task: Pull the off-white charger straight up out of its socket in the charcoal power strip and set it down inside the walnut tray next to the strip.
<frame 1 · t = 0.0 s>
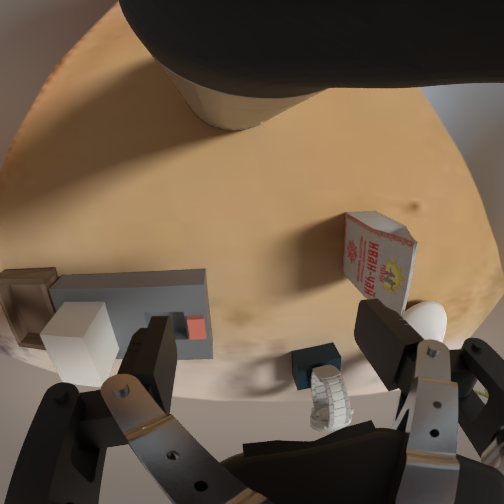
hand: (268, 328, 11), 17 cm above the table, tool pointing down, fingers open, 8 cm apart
power strip: (134, 309, 30), on the table
tea box: (358, 241, 30), on the table
watch: (312, 358, 35), on the table
flower in vase: (413, 328, 36), on the table
tray: (39, 304, 28), on the table
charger: (97, 316, 28), point 1 cm above the table, touching power strip
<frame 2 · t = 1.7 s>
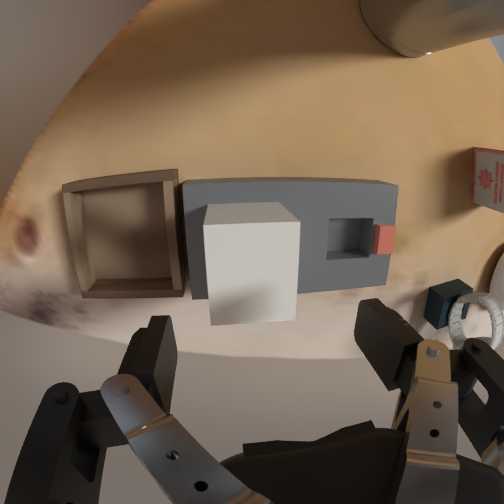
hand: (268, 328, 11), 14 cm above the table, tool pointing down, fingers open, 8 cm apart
power strip: (289, 228, 25), on the table
tea box: (480, 175, 25), on the table
watch: (440, 297, 30), on the table
tray: (129, 230, 23), on the table
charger: (242, 235, 23), point 1 cm above the table, touching power strip
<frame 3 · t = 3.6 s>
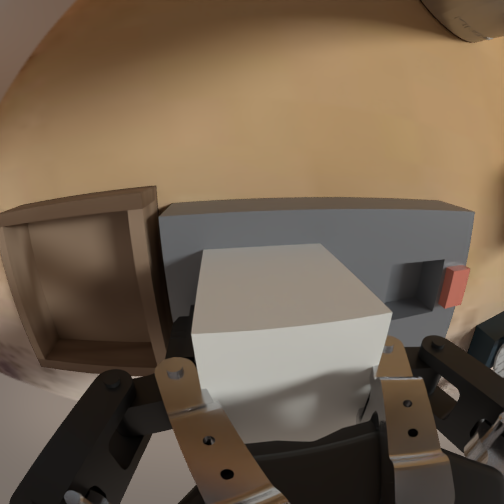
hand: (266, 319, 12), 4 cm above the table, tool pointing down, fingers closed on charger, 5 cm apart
power strip: (325, 272, 17), on the table
watch: (484, 334, 22), on the table
tray: (93, 277, 15), on the table
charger: (258, 289, 15), point 2 cm above the table, touching gripper, power strip
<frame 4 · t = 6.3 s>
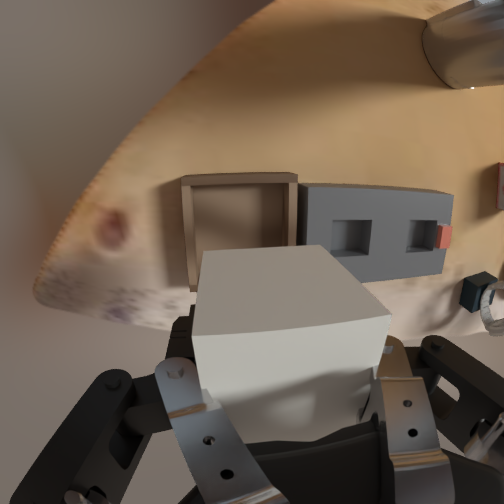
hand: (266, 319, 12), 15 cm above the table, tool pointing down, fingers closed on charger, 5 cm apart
power strip: (372, 227, 28), on the table
tea box: (502, 185, 29), on the table
watch: (471, 287, 33), on the table
tray: (238, 226, 27), on the table
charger: (258, 290, 15), point 13 cm above the table, touching gripper
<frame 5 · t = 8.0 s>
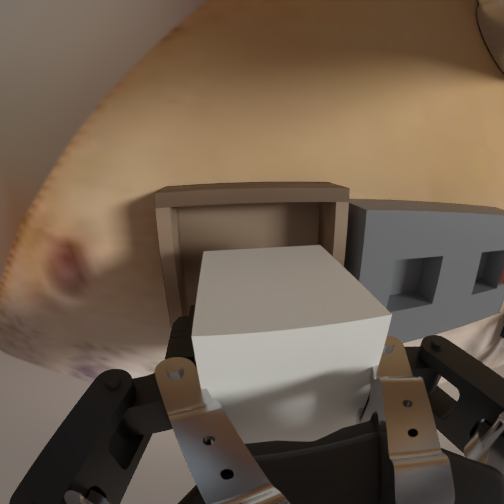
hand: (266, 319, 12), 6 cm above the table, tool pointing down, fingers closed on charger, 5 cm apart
power strip: (430, 259, 19), on the table
tray: (250, 265, 17), on the table
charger: (258, 290, 15), point 3 cm above the table, touching gripper
when the fingers open (4 cm above the table, at t = 9.2 s): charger stays where it is, resting on tray.
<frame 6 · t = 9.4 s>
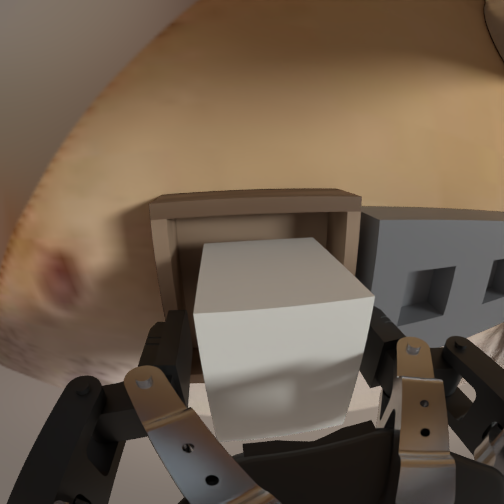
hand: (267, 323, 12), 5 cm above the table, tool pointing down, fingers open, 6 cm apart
power strip: (440, 268, 18), on the table
tray: (254, 278, 16), on the table
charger: (255, 282, 16), point 1 cm above the table, touching tray
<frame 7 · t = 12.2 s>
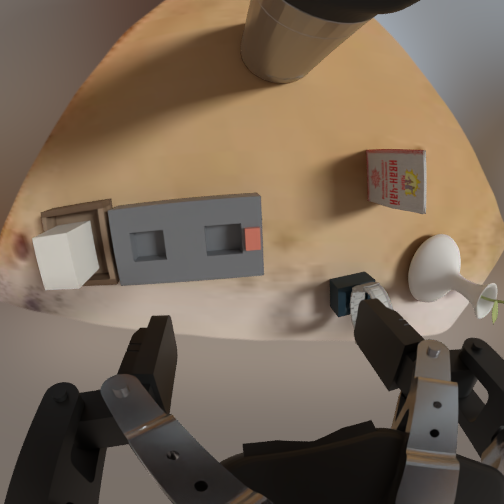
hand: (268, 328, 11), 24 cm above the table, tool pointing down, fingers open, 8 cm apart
power strip: (188, 235, 34), on the table
tea box: (378, 175, 34), on the table
watch: (347, 289, 39), on the table
flower in vase: (431, 265, 40), on the table
tray: (85, 241, 32), on the table
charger: (84, 242, 32), resting on tray
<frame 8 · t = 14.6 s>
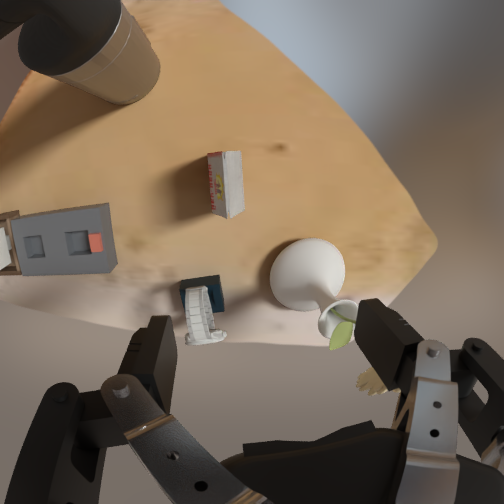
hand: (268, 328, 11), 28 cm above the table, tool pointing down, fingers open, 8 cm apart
power strip: (65, 238, 36), on the table
tea box: (225, 178, 37), on the table
watch: (203, 290, 42), on the table
flower in vase: (310, 271, 42), on the table
tray: (6, 241, 35), on the table
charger: (5, 242, 34), resting on tray
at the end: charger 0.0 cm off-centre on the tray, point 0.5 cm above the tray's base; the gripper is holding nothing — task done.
